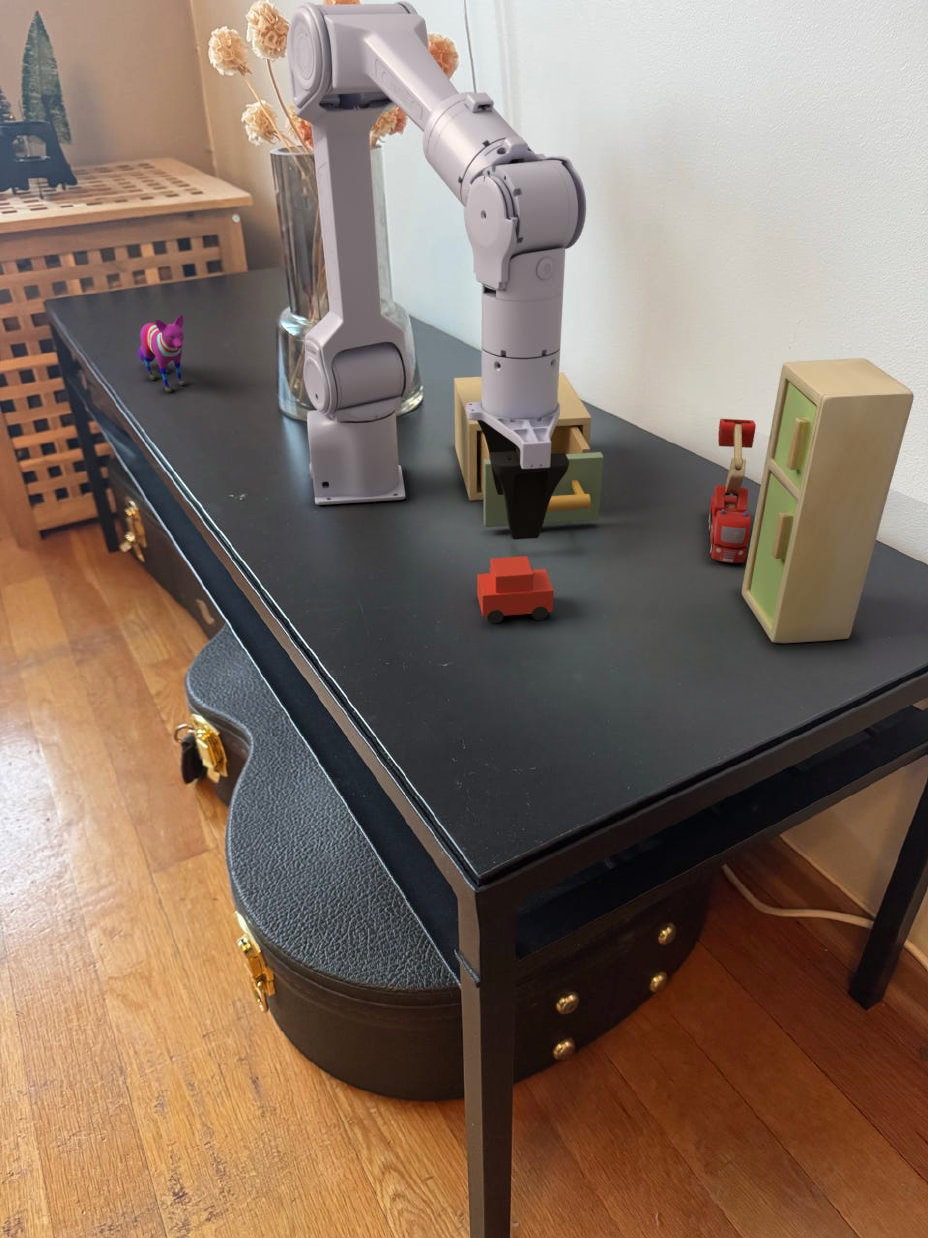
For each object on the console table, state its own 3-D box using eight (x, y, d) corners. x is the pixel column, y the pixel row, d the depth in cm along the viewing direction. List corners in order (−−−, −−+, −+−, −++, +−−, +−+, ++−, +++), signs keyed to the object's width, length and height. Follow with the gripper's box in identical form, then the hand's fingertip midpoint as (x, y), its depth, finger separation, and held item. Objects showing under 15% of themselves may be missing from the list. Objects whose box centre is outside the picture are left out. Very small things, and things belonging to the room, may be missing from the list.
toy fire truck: (709, 565, 84) (725, 470, 79) (706, 499, 95) (720, 412, 90) (746, 568, 84) (764, 473, 78) (739, 502, 95) (755, 414, 89)
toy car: (482, 624, 77) (482, 579, 74) (477, 601, 80) (477, 557, 77) (552, 619, 77) (554, 574, 75) (544, 596, 80) (546, 552, 78)
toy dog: (177, 402, 120) (162, 324, 114) (131, 367, 132) (115, 294, 126) (204, 396, 122) (190, 319, 116) (156, 361, 134) (141, 290, 128)
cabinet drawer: (610, 543, 86) (616, 478, 82) (491, 551, 85) (492, 485, 81) (571, 467, 100) (575, 408, 96) (469, 473, 99) (469, 414, 95)
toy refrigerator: (730, 593, 80) (773, 360, 68) (810, 588, 81) (867, 356, 69) (762, 646, 74) (816, 398, 62) (849, 640, 74) (920, 393, 62)
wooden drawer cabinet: (586, 493, 97) (591, 417, 92) (469, 500, 96) (468, 423, 91) (560, 442, 108) (563, 372, 103) (455, 448, 107) (454, 377, 102)
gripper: (455, 319, 71) (457, 477, 79) (479, 383, 59) (479, 562, 67) (543, 315, 72) (537, 472, 79) (585, 378, 60) (573, 555, 67)
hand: (516, 513), depth 73 cm, fingers open, 7 cm apart
